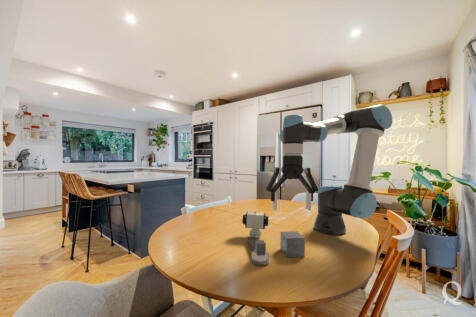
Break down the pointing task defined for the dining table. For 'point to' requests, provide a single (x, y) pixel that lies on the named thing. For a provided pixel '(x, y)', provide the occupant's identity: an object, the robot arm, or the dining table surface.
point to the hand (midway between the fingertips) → (291, 209)
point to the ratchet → (258, 252)
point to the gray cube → (292, 244)
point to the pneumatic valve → (255, 222)
